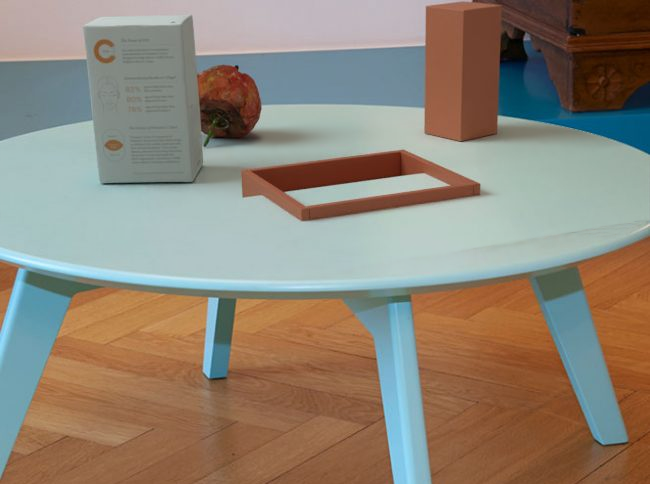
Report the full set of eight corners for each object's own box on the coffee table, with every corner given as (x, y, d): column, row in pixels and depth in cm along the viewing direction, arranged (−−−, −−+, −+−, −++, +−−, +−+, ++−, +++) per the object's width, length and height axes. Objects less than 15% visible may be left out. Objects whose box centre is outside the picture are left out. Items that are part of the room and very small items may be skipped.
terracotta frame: (403, 180, 94) (403, 149, 93) (479, 217, 84) (480, 183, 83) (242, 202, 89) (240, 169, 88) (302, 245, 78) (301, 209, 78)
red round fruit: (251, 170, 107) (291, 91, 111) (212, 118, 102) (255, 37, 106) (191, 169, 111) (231, 93, 115) (150, 119, 106) (195, 41, 110)
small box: (204, 164, 100) (194, 13, 95) (193, 183, 94) (182, 23, 90) (113, 165, 101) (99, 14, 96) (97, 184, 95) (81, 24, 90)
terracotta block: (460, 125, 113) (463, 1, 108) (497, 133, 109) (502, 5, 105) (423, 133, 110) (425, 5, 106) (460, 141, 106) (463, 10, 102)
